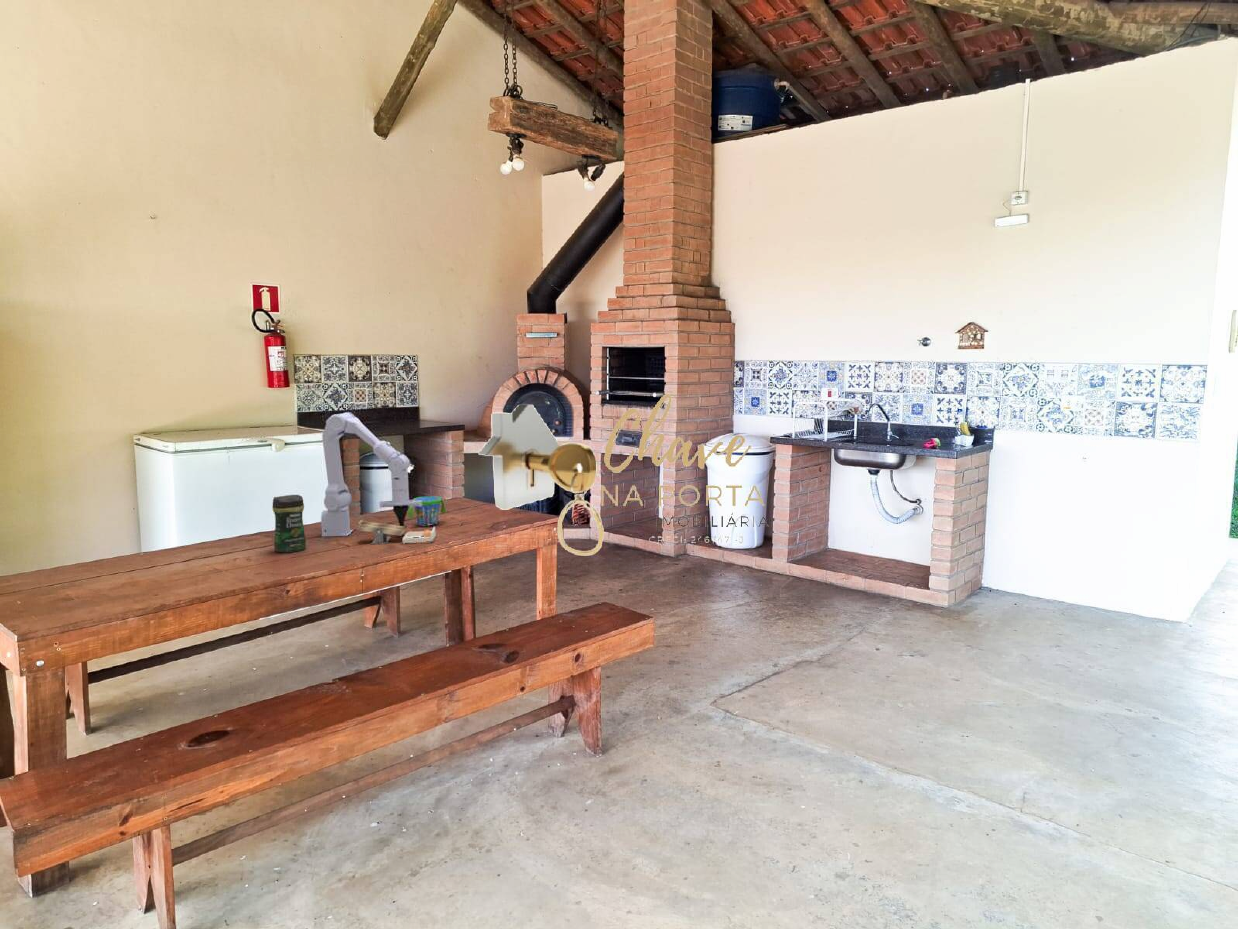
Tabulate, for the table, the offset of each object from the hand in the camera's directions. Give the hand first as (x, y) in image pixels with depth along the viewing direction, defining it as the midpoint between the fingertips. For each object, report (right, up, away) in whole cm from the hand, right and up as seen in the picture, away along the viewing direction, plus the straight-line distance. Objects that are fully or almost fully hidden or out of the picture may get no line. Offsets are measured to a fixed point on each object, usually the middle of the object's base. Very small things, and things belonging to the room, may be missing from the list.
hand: (401, 526), depth 289 cm
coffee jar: (-32, -7, -20) cm, 38 cm away
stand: (-5, -5, -8) cm, 10 cm away
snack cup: (+5, -1, +19) cm, 19 cm away
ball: (+11, -2, -6) cm, 12 cm away
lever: (-6, 0, -5) cm, 7 cm away
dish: (+8, -4, -6) cm, 11 cm away
